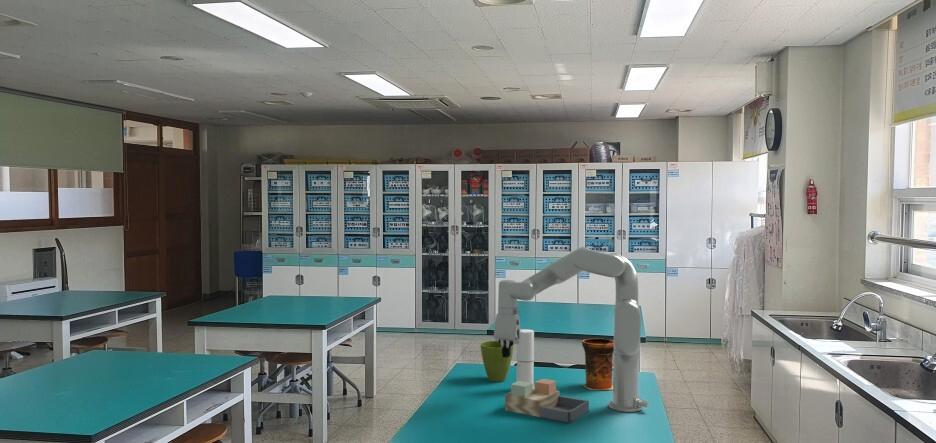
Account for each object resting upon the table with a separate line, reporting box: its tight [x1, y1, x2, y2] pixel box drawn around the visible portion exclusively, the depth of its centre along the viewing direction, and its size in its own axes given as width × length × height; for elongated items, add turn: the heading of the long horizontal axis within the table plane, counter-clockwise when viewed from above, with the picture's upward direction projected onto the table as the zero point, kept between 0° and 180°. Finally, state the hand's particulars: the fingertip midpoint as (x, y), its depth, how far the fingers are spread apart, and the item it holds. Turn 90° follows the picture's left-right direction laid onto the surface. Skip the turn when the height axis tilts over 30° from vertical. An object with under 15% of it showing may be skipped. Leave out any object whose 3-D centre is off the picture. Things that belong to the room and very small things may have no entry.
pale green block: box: [510, 380, 533, 397], centre depth 254 cm, size 6×6×4 cm
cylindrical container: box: [516, 328, 535, 387], centre depth 282 cm, size 7×7×25 cm
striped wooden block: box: [504, 385, 560, 418], centre depth 257 cm, size 15×16×6 cm
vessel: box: [581, 337, 614, 391], centre depth 287 cm, size 14×14×20 cm
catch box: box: [539, 395, 590, 424], centre depth 249 cm, size 12×17×4 cm
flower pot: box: [479, 340, 515, 383], centre depth 298 cm, size 15×15×16 cm
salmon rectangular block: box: [534, 378, 557, 395], centre depth 258 cm, size 6×6×4 cm
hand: (506, 356), depth 267 cm, fingers closed
